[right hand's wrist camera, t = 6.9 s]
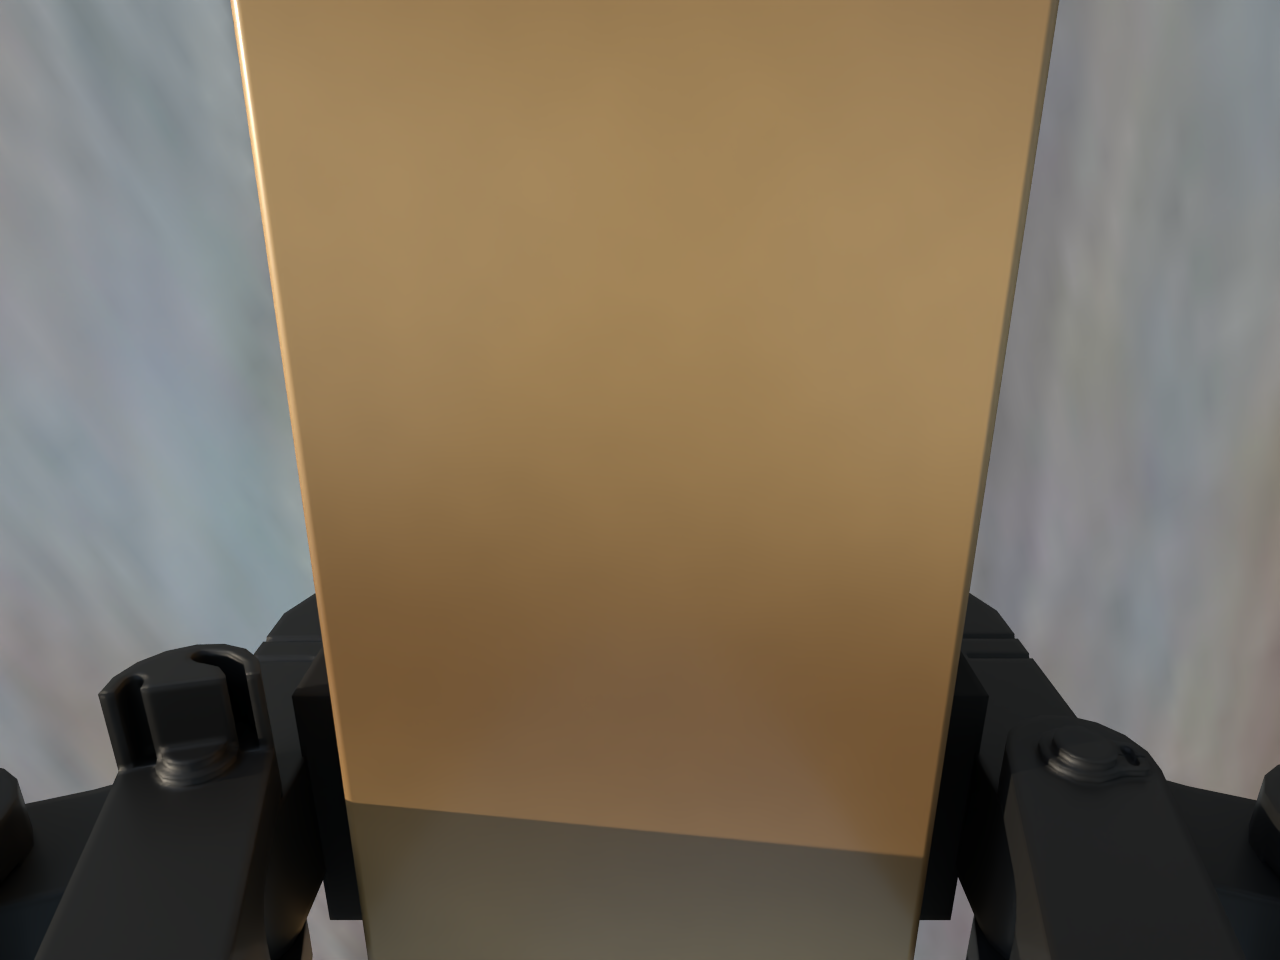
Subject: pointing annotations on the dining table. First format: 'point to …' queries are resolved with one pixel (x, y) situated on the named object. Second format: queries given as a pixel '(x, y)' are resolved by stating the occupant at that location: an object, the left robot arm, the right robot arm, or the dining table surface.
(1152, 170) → the dining table surface
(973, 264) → the board
